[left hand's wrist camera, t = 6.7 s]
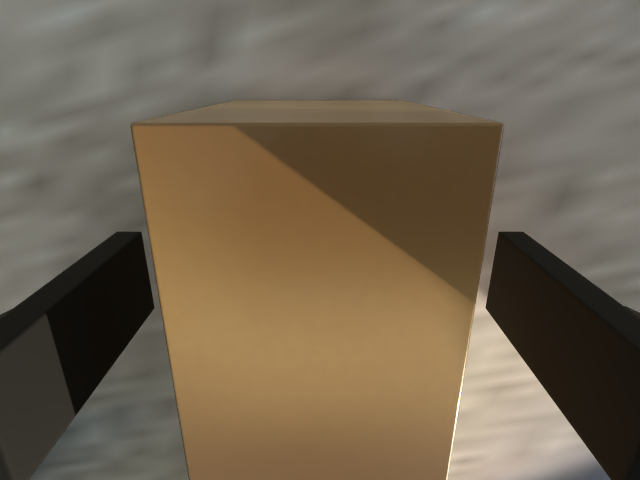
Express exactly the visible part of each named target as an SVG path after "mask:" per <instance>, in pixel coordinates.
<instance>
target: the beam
mask: <svg viewBox="0 0 640 480" xmlns="http://www.w3.org/2000/svg"><path fill="white" fill-rule="evenodd" d="M503 130H504V124H503V123H500V122H496V121H492V120H487V119H483V118H478V117H474V116H470V115H465V114H461V113H456V112H452V111H448V110H443V109H439V108H434V107H430V106H426V105H421V104H417V103H412V102H408V101H404V100H234V101H229V102H225V103H220V104H216V105H211V106H207V107H202V108H198V109H193V110H189V111H184V112H180V113H175V114H170V115H166V116H161V117H157V118H152V119H148V120H143V121H139V122H134V123H132V124H131V131H132V137H133V143H134V150H135V156H136V162H137V168H138V174H139V180H140V186H141V192H142V198H143V204H144V210H145V216H146V222H147V228H148V234H149V240H150V246H151V252H152V258H153V264H154V270H155V276H156V282H157V288H158V294H159V301H160V307H161V313H162V319H163V325H164V331H165V337H166V343H167V349H168V355H169V361H170V367H171V373H172V379H173V385H174V391H175V397H176V403H177V409H178V415H179V421H180V427H181V433H182V439H183V445H184V452H185V458H186V464H187V470H188V476H189V480H447V478H448V471H449V465H450V459H451V453H452V446H453V440H454V434H455V428H456V422H457V415H458V409H459V403H460V397H461V391H462V384H463V378H464V372H465V366H466V360H467V353H468V347H469V341H470V335H471V328H472V322H473V316H474V310H475V304H476V297H477V291H478V285H479V279H480V273H481V266H482V260H483V254H484V248H485V241H486V235H487V229H488V223H489V217H490V210H491V204H492V198H493V192H494V186H495V179H496V173H497V167H498V161H499V154H500V148H501V142H502V136H503Z"/></svg>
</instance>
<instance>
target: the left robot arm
mask: <svg viewBox="0 0 640 480" xmlns="http://www.w3.org/2000/svg"><path fill="white" fill-rule="evenodd" d="M153 309H154V303H153V297H152V291H151V285H150V280H149V274H148V268H147V262H146V256H145V251H144V245H143V239H142V233H141V232H116V233H115V234H113V235H112V236H111V237H109V238H108V239H107V240H105V241H104V242H103V243H101V244H100V245H98V246H97V247H96V248H94V249H93V250H92V251H90V252H89V253H88V254H86V255H85V256H84V257H82V258H81V259H80V260H78V261H77V262H76V263H74V264H73V265H71V266H70V267H69V268H67V269H66V270H65V271H63V272H62V273H61V274H59V275H58V276H57V277H55V278H54V279H53V280H51V281H50V282H49V283H47V284H46V285H44V286H43V287H42V288H40V289H39V290H38V291H36V292H35V293H34V294H32V295H31V296H30V297H28V298H27V299H26V300H24V301H23V302H22V303H20V304H19V305H17V306H16V307H15V308H13V309H11V310H9V311H7V312H5V313H3V314H1V315H0V480H29V479H30V477H31V476H32V475H33V473H34V472H35V470H36V469H37V468H38V466H39V465H40V464H41V462H42V461H43V460H44V458H45V457H46V455H47V454H48V453H49V451H50V450H51V449H52V447H53V446H54V444H55V443H56V442H57V440H58V439H59V438H60V436H61V435H62V434H63V432H64V431H65V429H66V428H67V427H68V425H69V424H70V423H71V421H72V420H73V419H74V417H75V416H76V414H77V413H78V412H79V410H80V409H81V408H82V406H83V405H84V403H85V402H86V401H87V399H88V398H89V397H90V395H91V394H92V393H93V391H94V390H95V388H96V387H97V386H98V384H99V383H100V382H101V380H102V379H103V377H104V376H105V375H106V373H107V372H108V371H109V369H110V368H111V367H112V365H113V364H114V362H115V361H116V360H117V358H118V357H119V356H120V354H121V353H122V351H123V350H124V349H125V347H126V346H127V345H128V343H129V342H130V341H131V339H132V338H133V336H134V335H135V334H136V332H137V331H138V330H139V328H140V327H141V326H142V324H143V323H144V321H145V320H146V319H147V317H148V316H149V315H150V313H151V312H152V310H153ZM486 309H487V310H488V312H489V313H490V315H491V316H492V317H493V319H494V320H495V321H496V323H497V324H498V325H499V327H500V328H501V330H502V331H503V332H504V334H505V335H506V336H507V338H508V339H509V341H510V342H511V343H512V345H513V346H514V347H515V349H516V350H517V351H518V353H519V354H520V356H521V357H522V358H523V360H524V361H525V362H526V364H527V365H528V367H529V368H530V369H531V371H532V372H533V373H534V375H535V376H536V377H537V379H538V380H539V382H540V383H541V384H542V386H543V387H544V388H545V390H546V391H547V393H548V394H549V395H550V397H551V398H552V399H553V401H554V402H555V403H556V405H557V406H558V408H559V409H560V410H561V412H562V413H563V414H564V416H565V417H566V418H567V420H568V421H569V423H570V424H571V425H572V427H573V428H574V429H575V431H576V432H577V434H578V435H579V436H580V438H581V439H582V440H583V442H584V443H585V444H586V446H587V447H588V449H589V450H590V451H591V453H592V454H593V455H594V457H595V458H596V460H597V461H598V462H599V464H600V465H601V466H602V468H603V469H604V470H605V472H606V473H607V475H608V476H609V477H610V479H611V480H640V313H639V312H637V311H634V310H632V309H630V308H628V307H626V306H623V305H621V304H620V303H618V302H617V301H616V300H614V299H613V298H612V297H610V296H609V295H608V294H606V293H605V292H604V291H602V290H601V289H600V288H598V287H597V286H596V285H594V284H593V283H591V282H590V281H589V280H587V279H586V278H585V277H583V276H582V275H581V274H579V273H578V272H577V271H575V270H574V269H573V268H571V267H570V266H569V265H567V264H566V263H564V262H563V261H562V260H560V259H559V258H558V257H556V256H555V255H554V254H552V253H551V252H550V251H548V250H547V249H546V248H544V247H543V246H542V245H540V244H539V243H538V242H536V241H535V240H533V239H532V238H531V237H529V236H528V235H527V234H525V233H524V232H499V233H498V239H497V245H496V251H495V256H494V262H493V268H492V274H491V280H490V285H489V291H488V297H487V303H486Z"/></svg>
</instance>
